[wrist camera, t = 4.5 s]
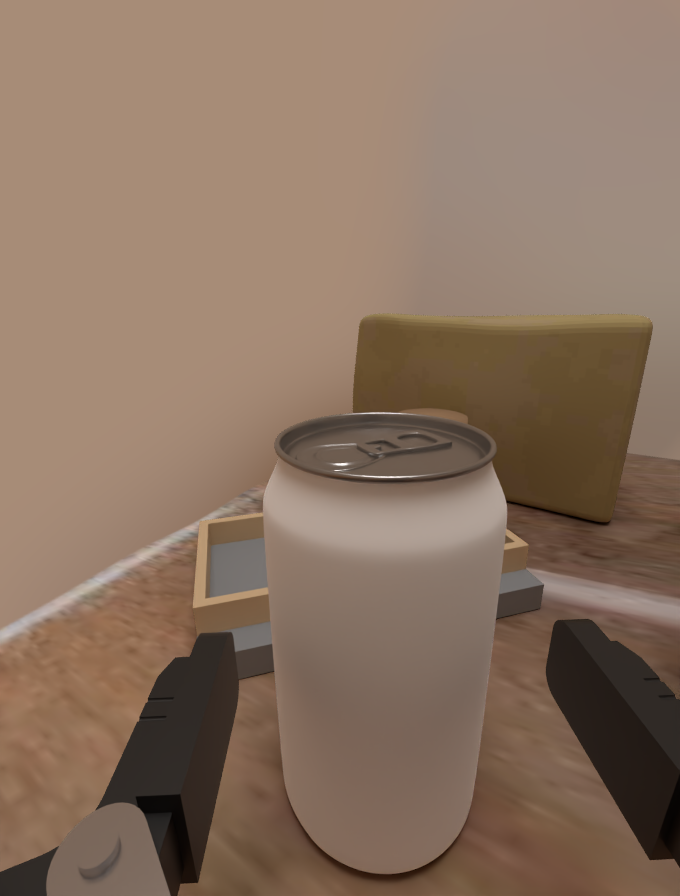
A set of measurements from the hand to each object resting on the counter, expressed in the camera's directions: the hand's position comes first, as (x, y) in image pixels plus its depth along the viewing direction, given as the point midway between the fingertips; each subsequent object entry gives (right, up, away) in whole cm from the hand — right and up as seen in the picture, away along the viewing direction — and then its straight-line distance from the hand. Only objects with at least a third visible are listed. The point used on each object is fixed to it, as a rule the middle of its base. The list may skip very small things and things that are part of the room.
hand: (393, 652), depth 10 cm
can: (0, -6, +4) cm, 8 cm away
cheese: (+10, +2, +28) cm, 30 cm away
